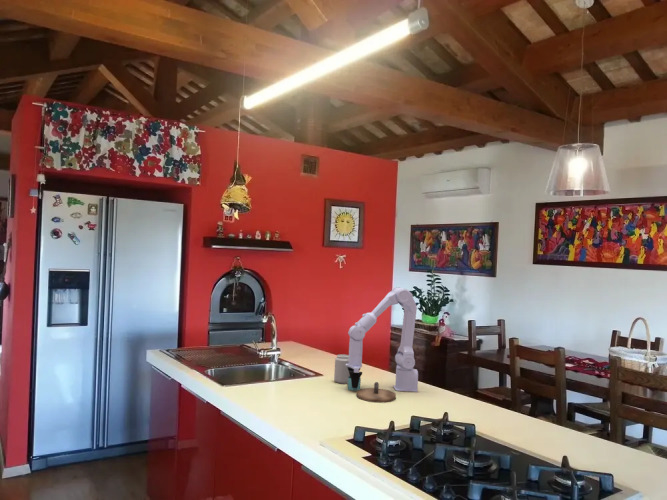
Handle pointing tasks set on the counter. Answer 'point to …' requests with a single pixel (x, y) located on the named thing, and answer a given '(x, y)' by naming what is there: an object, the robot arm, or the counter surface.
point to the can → (341, 369)
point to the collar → (351, 384)
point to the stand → (375, 394)
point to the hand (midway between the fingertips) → (353, 385)
